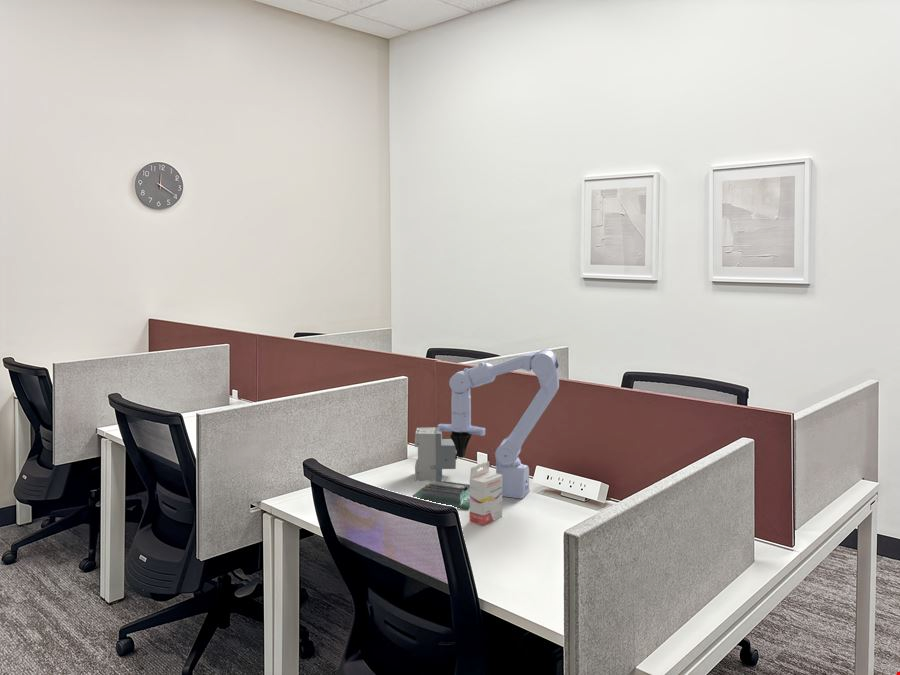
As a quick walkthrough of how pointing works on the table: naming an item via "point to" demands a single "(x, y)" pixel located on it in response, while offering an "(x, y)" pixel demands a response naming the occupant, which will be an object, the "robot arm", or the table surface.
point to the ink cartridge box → (485, 495)
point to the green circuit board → (446, 495)
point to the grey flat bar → (447, 485)
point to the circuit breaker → (433, 454)
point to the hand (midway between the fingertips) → (461, 456)
